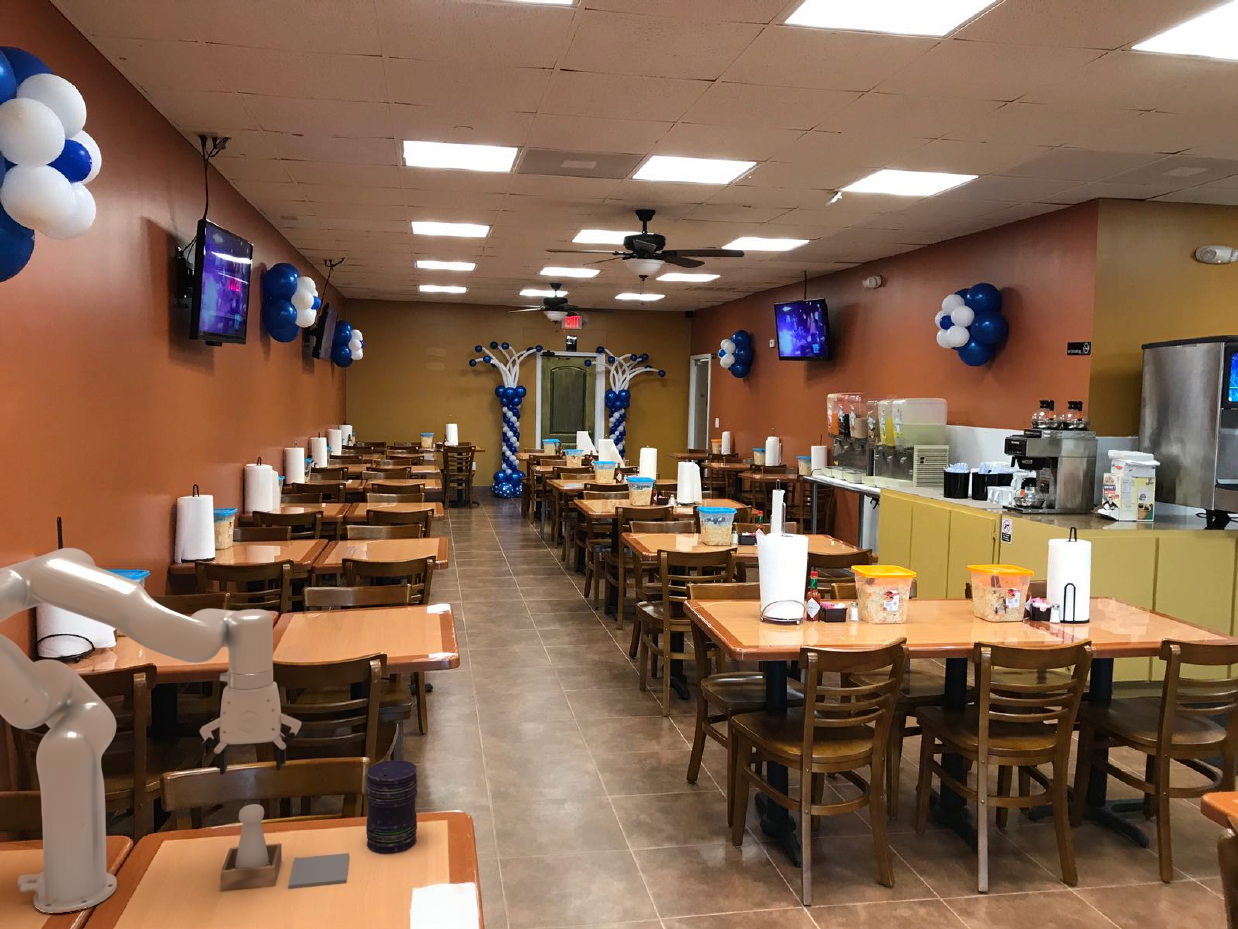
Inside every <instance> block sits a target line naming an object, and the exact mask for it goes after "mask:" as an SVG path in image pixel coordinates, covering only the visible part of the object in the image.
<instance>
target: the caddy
mask: <svg viewBox="0 0 1238 929" xmlns="http://www.w3.org/2000/svg"><path fill="white" fill-rule="evenodd" d="M238 847H239V846H235V847H234V846H233V847H229V849H228V852H227V855H226V856H225V859H224V862H223V865H222V867H221V870H220V877H219V879H220V880H219V882H220V892H226V891H227V892H228V891H236V890H237V891H239V890H245V889H246V890H247V889H259V888H267V887H275V886H276V884H277V881H276V880H278V876H279V873H280V872H279V871H280V869H281V868H280V867H281V865H282V857H283V856H282V842H279V843H268V844H266V848H267V853H268V858H269V862H268V863H270V864H272V865H269V866H266V867H255V868H244V869H235V863H236V858H237V853H238ZM233 868H234V869H233Z"/></svg>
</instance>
